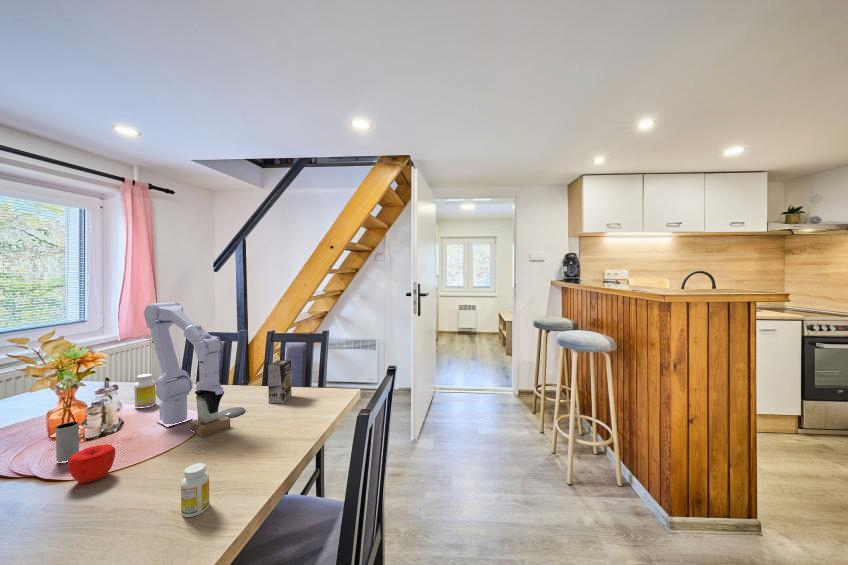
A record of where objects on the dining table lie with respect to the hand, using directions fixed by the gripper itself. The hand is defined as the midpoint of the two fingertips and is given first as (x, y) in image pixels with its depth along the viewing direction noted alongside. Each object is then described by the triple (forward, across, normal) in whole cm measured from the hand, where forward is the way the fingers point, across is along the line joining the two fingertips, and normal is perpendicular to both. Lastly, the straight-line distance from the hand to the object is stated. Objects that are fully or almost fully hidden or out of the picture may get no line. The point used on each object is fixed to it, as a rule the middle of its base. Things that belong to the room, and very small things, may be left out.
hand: (209, 411), depth 117 cm
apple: (+6, +5, -31) cm, 32 cm away
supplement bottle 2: (+6, +41, -22) cm, 47 cm away
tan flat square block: (+6, 0, 0) cm, 6 cm away
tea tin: (+3, 0, 0) cm, 3 cm away
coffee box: (+6, -4, +30) cm, 31 cm away
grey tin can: (+6, -14, -32) cm, 36 cm away
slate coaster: (+6, -7, +11) cm, 14 cm away
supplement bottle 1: (+6, -45, -4) cm, 46 cm away
